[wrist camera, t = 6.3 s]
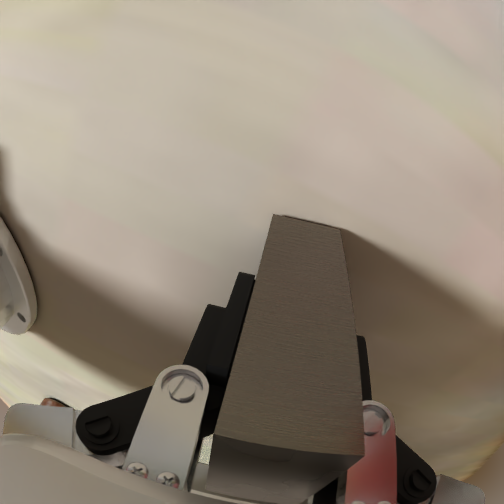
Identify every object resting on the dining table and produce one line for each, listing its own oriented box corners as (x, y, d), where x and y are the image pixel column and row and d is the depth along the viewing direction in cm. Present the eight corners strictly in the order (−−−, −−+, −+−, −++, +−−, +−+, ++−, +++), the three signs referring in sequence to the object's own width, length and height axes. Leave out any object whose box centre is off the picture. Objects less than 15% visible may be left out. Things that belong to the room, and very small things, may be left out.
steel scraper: (273, 214, 11) (213, 433, 4) (339, 229, 11) (364, 455, 4) (224, 437, 20) (199, 530, 13) (255, 444, 20) (236, 538, 13)
